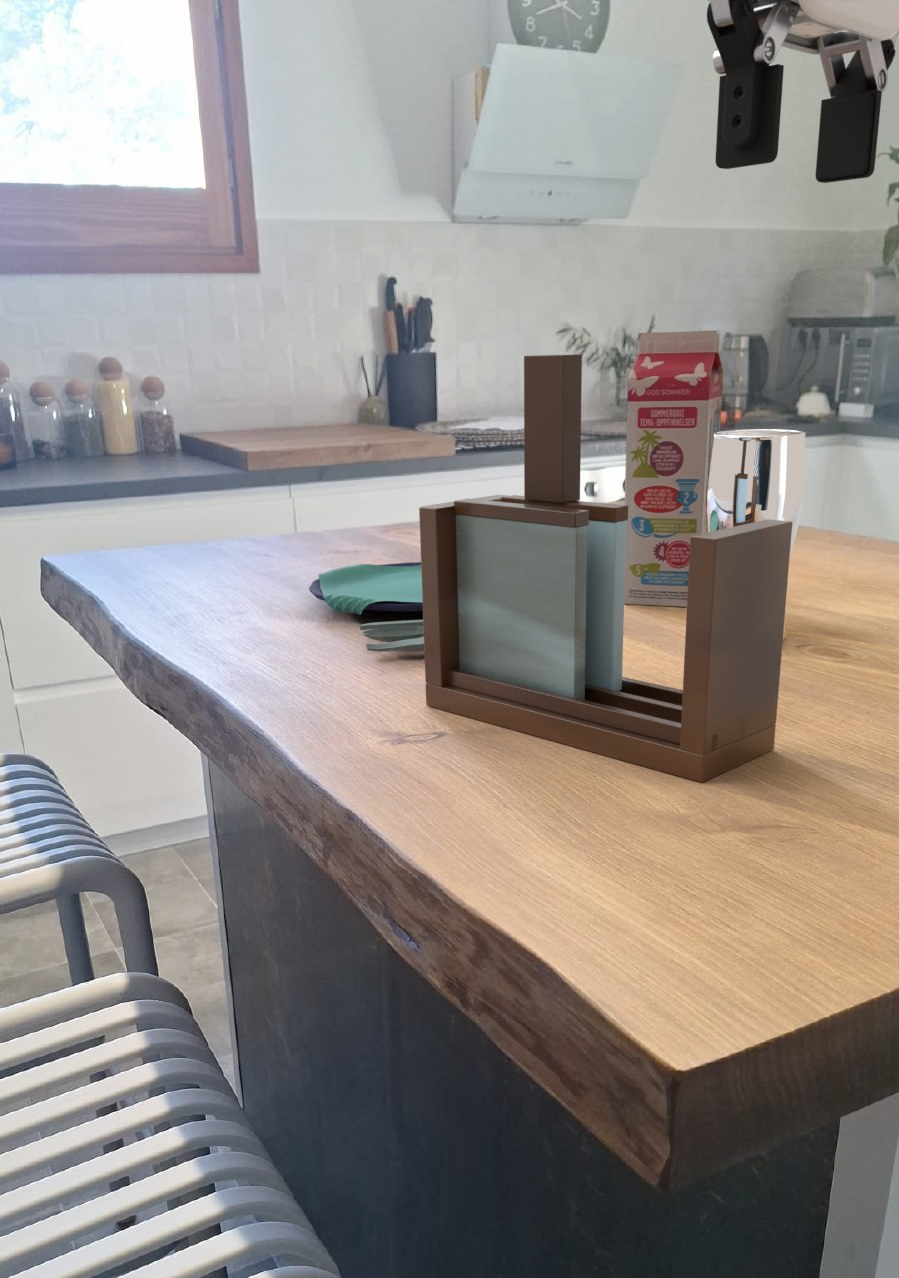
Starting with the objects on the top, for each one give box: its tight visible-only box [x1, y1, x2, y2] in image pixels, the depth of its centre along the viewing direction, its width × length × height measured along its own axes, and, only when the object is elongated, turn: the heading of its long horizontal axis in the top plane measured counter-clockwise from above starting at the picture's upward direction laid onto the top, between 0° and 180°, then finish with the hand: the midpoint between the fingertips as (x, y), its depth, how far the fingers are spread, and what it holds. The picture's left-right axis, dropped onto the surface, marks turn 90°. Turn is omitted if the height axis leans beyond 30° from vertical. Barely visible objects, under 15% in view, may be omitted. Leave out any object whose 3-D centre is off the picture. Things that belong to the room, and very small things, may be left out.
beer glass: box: [706, 428, 807, 640], centre depth 85 cm, size 7×7×15 cm
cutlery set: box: [308, 561, 424, 652], centre depth 98 cm, size 20×30×2 cm, turn 8°
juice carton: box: [624, 330, 724, 608], centre depth 97 cm, size 7×7×22 cm
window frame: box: [418, 494, 792, 783], centre depth 66 cm, size 7×21×13 cm, turn 44°
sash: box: [501, 353, 628, 691], centre depth 67 cm, size 2×9×19 cm, turn 44°
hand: (797, 172), depth 59 cm, fingers open, 9 cm apart
